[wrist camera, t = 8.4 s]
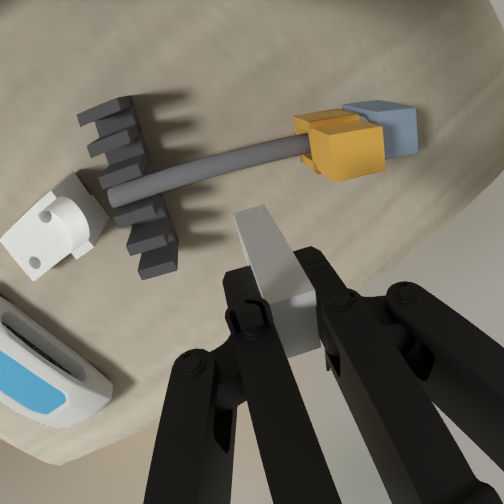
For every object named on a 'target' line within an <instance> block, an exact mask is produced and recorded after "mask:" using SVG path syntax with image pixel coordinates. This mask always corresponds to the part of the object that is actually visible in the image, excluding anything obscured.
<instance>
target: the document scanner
mask: <svg viewBox="0 0 504 504" xmlns="http://www.w3.org/2000/svg"><path fill="white" fill-rule="evenodd" d="M2 322H3V323H5V324H7V325H8V326H10V327H11V328H12V329H13V330H15V331H16V332H17V333H19V334H20V335H21V336H23V337H24V338H25V339H27V340H28V341H29V342H31V343H32V344H33V345H35V346H36V347H37V348H39V349H40V350H41V351H43V352H44V353H45V354H47V355H48V356H49V357H51V358H52V359H53V360H54V361H56V362H57V363H58V364H59V365H61V366H62V367H63V368H65V369H66V370H67V371H69V372H70V373H71V375H69V374H68V373H66V372H65V371H63V370H61V369H60V368H58V367H57V366H55V365H54V364H52V363H51V362H49V361H48V360H47V359H45V358H44V357H42V356H41V355H40V354H38V353H37V352H35V351H34V350H33V349H31V348H30V347H29V346H28V345H26V344H25V343H24V342H23V341H22V340H20V339H19V338H18V337H17V336H16V335H14V334H13V333H12V332H11V331H10V330H9V329H7V328H6V327H5V326H4V325H3V324H2ZM112 391H113V385H112V383H111V382H110V381H109V380H108V379H107V378H105V377H104V376H103V375H102V374H101V373H100V372H99V371H98V370H96V369H95V368H94V367H93V366H92V365H91V364H90V363H89V362H88V361H87V360H86V359H84V358H83V357H82V356H80V355H79V354H77V353H76V352H74V351H73V350H72V349H70V348H69V347H67V346H66V345H65V344H63V343H62V342H61V341H59V340H58V339H57V338H55V337H54V336H53V335H51V334H50V333H49V332H47V331H46V330H45V329H44V328H42V327H41V326H40V325H38V324H37V323H36V322H35V321H34V320H32V319H31V318H30V317H29V316H27V315H26V314H25V313H24V312H23V311H22V310H20V309H19V308H18V307H17V306H15V305H14V304H12V303H10V302H9V301H7V300H6V299H4V298H2V297H1V296H0V401H1V402H3V403H4V404H6V405H7V406H9V407H10V408H12V409H14V410H15V411H17V412H18V413H20V414H21V415H23V416H25V417H28V418H30V419H32V420H35V421H38V422H40V423H43V424H45V425H48V426H51V427H54V428H56V429H71V428H73V427H75V426H77V425H79V424H81V423H83V422H85V421H86V420H88V419H90V418H92V417H94V416H95V415H96V414H97V413H98V412H99V411H100V410H101V409H102V408H103V407H105V406H106V405H107V404H108V403H109V402H110V401H111V400H112Z"/></svg>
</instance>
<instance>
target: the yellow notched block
mask: <svg viewBox="0 0 504 504" xmlns="http://www.w3.org/2000/svg"><path fill="white" fill-rule="evenodd" d="M293 119H294V125H295V130H296V135H300V134H304V133H308V135H309V141H310V147H311V153H307V154H303V155H300V159H301V162H303V163H304V164H305V165H307V166H308V167H309V168H310V169H312V170H313V171H314V172H316V173H317V174H321V173H323V174H324V175H326V176H327V177H328V178H330V179H331V180H332V181H334V182H339V181H343V180H347V179H351V178H356V177H360V176H364V175H369V174H373V173H378V172H382V171H386V170H385V153H384V140H383V128H382V126H380V125H376V124H373V123H370V122H366V121H363V120H360V118H359V114H355V113H351V112H347V111H343V110H339V109H334V110H327V111H321V112H315V113H309V114H304V115H298V116H293Z"/></svg>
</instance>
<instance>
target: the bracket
mask: <svg viewBox="0 0 504 504" xmlns="http://www.w3.org/2000/svg"><path fill="white" fill-rule="evenodd" d="M49 211H50V212H49ZM108 219H109V216H108V215H107V214H106V212H105V211H104V210H103V208H102V207H101V205H100V204H99V203H98V201H97V200H96V199H95V197H94V196H93V194H91V195H90V194H89V193H88V192H87V190H86V189H85V187H84V186H83V184H82V183H81V182H80V180H79V179H78V177H77V176H76V174H75V173H74V172H72V173H71V174H70V175H68V176H67V177H66V178H65V179H64V180H62V181H61V182H60V183H59V184H58V185H56V186H55V187H54V188H53V189H52V190H51V191H49V192H48V193H47V194H46V195H45V196H44V197H43V198H42V199H40V200H39V201H38V202H37V203H36V204H35V205H34V206H33V207H32V208H31V209H30V210H29V211H28V212H26V213H25V214H24V215H23V216H22V217H21V218H20V219H19V220H18V221H17V222H16V223H15V224H14V225H13V226H12V227H11V228H10V229H9V230H8V231H7V232H6V233H5V234H4V235H3V236H2V238H1V239H0V242H1V243H2V244H3V245H4V247H5V248H6V249H7V251H8V252H9V253H10V254H11V256H12V257H13V258H14V259H15V260H16V262H17V263H18V264H19V265H20V266H21V268H22V269H23V270H24V271H25V272H26V274H27V275H28V276H29V277H30V278H31V279H32V280H33V282H34V281H35V280H36V279H37V278H39V277H40V276H41V275H42V274H44V273H45V272H46V271H47V270H49V269H50V268H51V267H53V266H54V265H55V264H56V263H58V262H59V261H60V260H62V259H63V258H64V257H66V256H67V255H68V254H70V253H71V254H72V255H73V256H74V257H75V258H76V260H77V259H78V258H79V257H81V256H82V255H84V254H85V253H86V252H88V251H89V250H91V249H92V248H93V247H94V246H95V244H96V242H97V240H98V238H99V236H100V234H101V232H102V230H103V228H104V227H105V225H106V223H107V221H108Z"/></svg>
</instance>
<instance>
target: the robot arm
mask: <svg viewBox="0 0 504 504" xmlns="http://www.w3.org/2000/svg"><path fill="white" fill-rule="evenodd" d="M233 215H234V218H235V222H236V226H237V229H238V233H239V237H240V240H241V244H242V248H243V251H244V255H245V259H246V262H247V265H248V266H246V267H242V268H239V269H235V270H232V271H229V272H226V273H225V276H224V279H223V281H222V282H223V287H224V291H225V296H226V301H227V306H228V309H227V310H226V312H225V319H226V322H227V324H228V327H229V330H230V332H231V335H230V336H229V338H228V340H227V341H226V342H225V343H224V344H222V345H221V346H219V347H218V348H216V349H215V350H213V351H211V352H208V351H206V350H204V349H192V350H188V351H186V352H185V353H183V354H181V355H180V356H179V357H178V358H177V359H176V360H175V362H174V365H173V367H172V371H171V375H170V379H169V383H168V387H167V392H166V396H165V400H164V405H163V409H162V414H161V418H160V423H159V427H158V432H157V436H156V441H155V446H154V451H153V456H152V461H151V465H150V471H149V477H148V481H147V486H146V492H145V497H144V503H143V504H230V500H231V486H232V473H233V459H234V444H235V432H236V418H237V406H238V405H240V404H242V403H243V402H245V401H247V403H248V407H249V411H250V415H251V419H252V423H253V427H254V432H255V435H256V439H257V443H258V447H259V451H260V455H261V459H262V462H263V467H264V470H265V474H266V478H267V482H268V485H269V489H270V493H271V496H272V500H273V504H342V503H341V500H340V497H339V495H338V492H337V490H336V487H335V484H334V482H333V479H332V476H331V474H330V471H329V469H328V466H327V463H326V461H325V458H324V455H323V453H322V450H321V447H320V445H319V442H318V439H317V437H316V434H315V431H314V429H313V426H312V423H311V421H310V418H309V415H308V413H307V410H306V407H305V405H304V402H303V400H302V397H301V394H300V391H299V389H298V386H297V383H296V381H295V378H294V376H293V373H292V370H291V367H290V365H289V362H288V360H287V358H290V357H293V356H296V355H299V354H302V353H305V352H308V351H311V350H314V349H317V348H320V347H321V343H320V339H321V341H322V343H323V345H324V347H325V358H326V368H327V371H329V370H330V368H331V370H332V372H333V374H334V377H335V378H336V380H337V383H338V385H339V387H340V389H341V391H342V394H343V396H344V398H345V400H346V402H347V404H348V406H349V409H350V411H351V413H352V415H353V417H354V419H355V422H356V424H357V426H358V428H359V430H360V433H361V435H362V437H363V439H364V442H365V444H366V446H367V448H368V450H369V453H370V455H371V457H372V459H373V462H374V464H375V466H376V468H377V470H378V473H379V475H380V477H381V479H382V482H383V484H384V486H385V488H386V491H387V493H388V495H389V498H390V500H391V502H392V504H503V503H502V501H501V499H500V497H499V495H498V494H497V492H496V491H495V489H494V488H493V487H491V486H490V485H489V484H487V483H484V482H481V481H479V480H478V479H477V478H476V477H475V475H474V474H473V472H472V470H471V468H470V466H469V465H468V463H467V461H466V459H465V457H464V456H463V454H462V452H461V450H460V448H459V447H458V445H457V443H456V441H455V440H454V438H453V436H452V435H451V433H450V431H449V429H448V428H447V426H446V424H445V423H444V421H443V419H442V418H441V416H440V414H439V413H438V411H437V410H436V408H435V406H434V405H433V403H434V404H435V405H436V406H437V407H438V408H439V409H440V410H441V411H442V412H443V413H445V415H447V416H448V417H449V418H450V419H451V420H452V421H453V422H454V423H455V424H456V425H457V426H458V427H459V428H460V429H461V430H462V431H463V432H464V433H465V434H466V435H467V436H468V437H469V438H470V439H471V440H472V441H474V443H475V444H476V445H477V446H479V448H481V450H483V452H485V453H486V454H487V455H488V456H489V457H490V458H491V459H492V460H493V461H494V462H495V463H496V464H497V465H498V466H499V467H500V468H501V469H502V470H503V471H504V348H503V347H502V346H501V345H500V344H498V343H497V342H496V341H494V340H493V339H492V338H490V337H489V336H488V335H487V334H485V333H484V332H483V331H481V330H480V329H479V328H477V327H476V326H475V325H473V324H472V323H471V322H469V321H468V320H467V319H465V318H464V317H463V316H461V315H460V314H459V313H457V312H456V311H454V310H453V309H452V308H450V307H449V306H448V305H446V304H445V303H443V302H442V301H440V300H439V299H438V298H436V297H435V296H434V295H432V294H431V293H429V292H428V291H426V290H425V289H424V288H422V287H421V286H419V285H417V284H415V283H412V282H407V281H405V282H398V283H395V284H393V285H392V286H391V287H389V289H388V290H387V294H386V296H376V297H363V296H361V295H360V294H358V293H357V292H356V291H354V290H352V289H349V288H347V287H346V286H345V284H344V283H343V282H342V280H341V279H340V277H339V276H338V274H337V273H336V272H335V270H334V269H333V267H332V266H331V265H330V263H329V262H328V260H326V258H325V256H324V255H323V254H322V252H321V251H320V250H318V249H316V248H314V247H312V246H310V247H306V248H303V249H300V250H296V251H292V250H291V248H290V246H289V245H288V243H287V241H286V240H285V238H284V236H283V235H282V233H281V231H280V230H279V228H278V226H277V225H276V223H275V221H274V220H273V218H272V216H271V215H270V213H269V212H268V210H267V208H266V207H265V205H261V206H258V207H254V208H250V209H247V210H243V211H240V212H236V213H233ZM432 402H433V403H432Z"/></svg>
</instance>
